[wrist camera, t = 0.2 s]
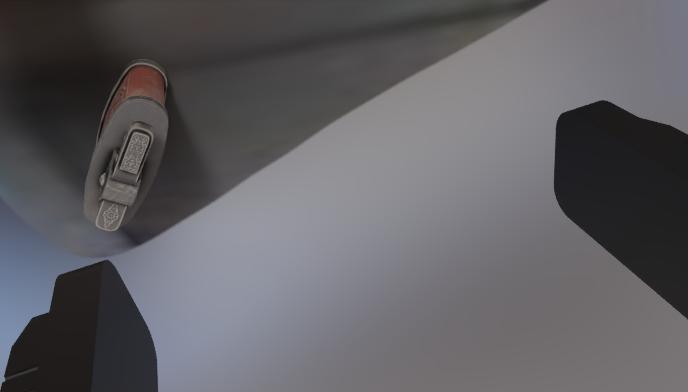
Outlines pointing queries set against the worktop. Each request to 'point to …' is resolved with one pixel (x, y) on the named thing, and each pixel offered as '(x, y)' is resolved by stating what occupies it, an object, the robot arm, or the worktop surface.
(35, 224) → the worktop surface
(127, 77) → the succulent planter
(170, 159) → the worktop surface
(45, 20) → the worktop surface
